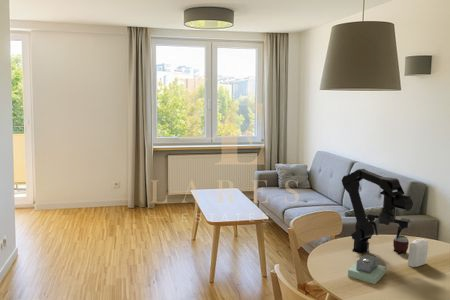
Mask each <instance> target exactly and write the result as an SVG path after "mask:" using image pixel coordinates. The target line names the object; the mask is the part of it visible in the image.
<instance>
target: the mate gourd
mask: <svg viewBox="0 0 450 300" xmlns="http://www.w3.org/2000/svg"><path fill="white" fill-rule="evenodd" d="M396 225H397V227H398V226H399V224H397V223H396ZM396 237H397V235H395V236H394V238H393V242H392V246H393V252H397V254H398V255H400V254H401V253H402V254H406V255H407V254H408V253H407V251H408V249H409V246H410V242H409V239H408V237H407V236H405V235H401V234H400V236H399V238H398V240H396Z"/></svg>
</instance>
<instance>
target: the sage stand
mask: <svg viewBox="0 0 450 300" xmlns="http://www.w3.org/2000/svg"><path fill="white" fill-rule="evenodd" d="M356 266H357V261H356V262H355V263H354V264H353V265H352V266H351V267H350V268H348V269H347V270H348V271H347V277H349V278H353V279H356V280H360V281H364V282H365V283H371V284H373V285H376V284H377V283H378V282H379V281H380V279H381V278H383V276H384V275H385V274H386V269H387V267H386V266H387V265H386V266H385V265H382V264H378V267H377V268H376V269H375V270H373V271H372V272H371V273H370V274H369V273H366V272H362V271H359V270H356Z"/></svg>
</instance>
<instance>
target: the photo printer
mask: <svg viewBox="0 0 450 300" xmlns="http://www.w3.org/2000/svg"><path fill="white" fill-rule="evenodd" d="M408 249H409V251H408V257H407V258H408V260H407V264H408V266H409V267H411V268H417V267H421V266H423V265H426V264H427V262H428V261H427V259H428V250H429V242H428V240H426V239H424V238H417V239H415V240H412V242H411V243H409V246H408Z"/></svg>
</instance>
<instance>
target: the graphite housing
mask: <svg viewBox="0 0 450 300" xmlns="http://www.w3.org/2000/svg"><path fill="white" fill-rule="evenodd" d="M379 258H380V257H377V256H373V255H369V254H366V253H365V254H364V255H362V256H361V257H360V258H359V259H357V260H356V262H357V266H356V270H359V271H362V272H366V273H369V274H370V273H371V272H372V271H373V270H375V269H376V268H377V267H378V265H379Z"/></svg>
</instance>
